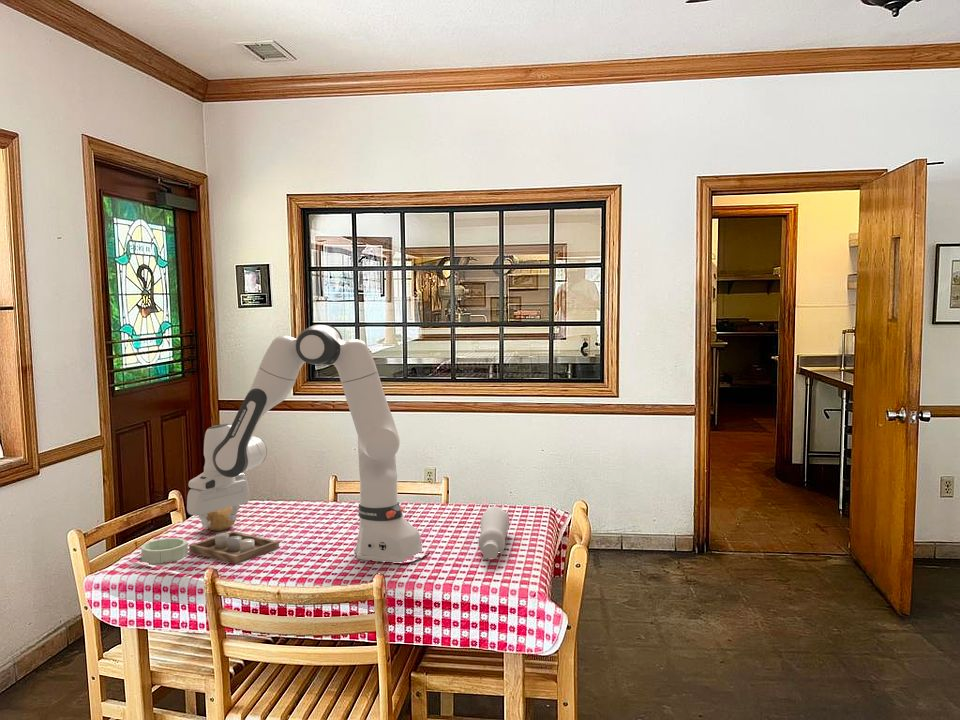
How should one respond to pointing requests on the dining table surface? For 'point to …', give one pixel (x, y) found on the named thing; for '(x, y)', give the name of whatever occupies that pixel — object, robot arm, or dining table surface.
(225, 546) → the pebble
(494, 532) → the bottle
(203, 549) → the tray
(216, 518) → the potato
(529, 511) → the dining table surface
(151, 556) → the bowl
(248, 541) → the pebble
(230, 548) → the pebble
